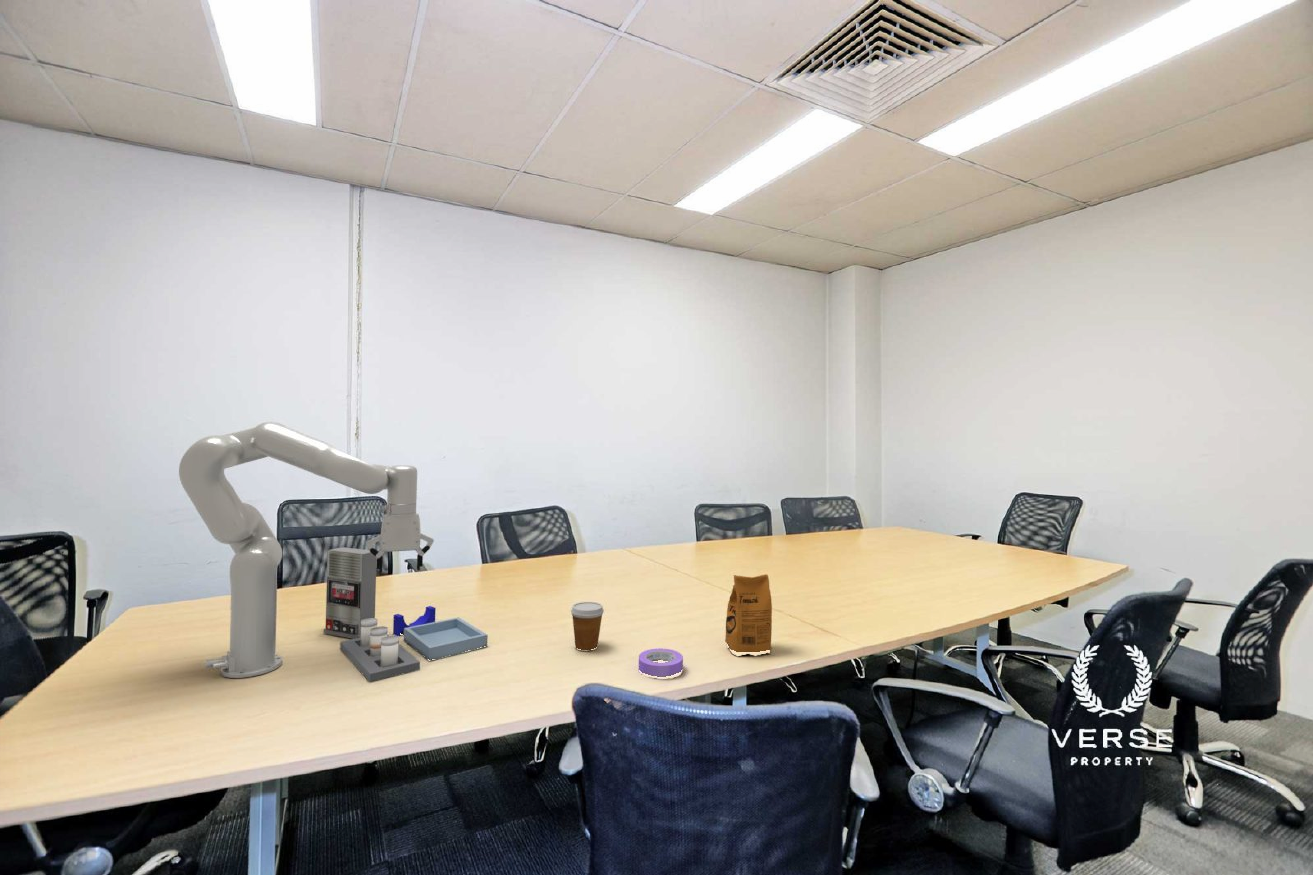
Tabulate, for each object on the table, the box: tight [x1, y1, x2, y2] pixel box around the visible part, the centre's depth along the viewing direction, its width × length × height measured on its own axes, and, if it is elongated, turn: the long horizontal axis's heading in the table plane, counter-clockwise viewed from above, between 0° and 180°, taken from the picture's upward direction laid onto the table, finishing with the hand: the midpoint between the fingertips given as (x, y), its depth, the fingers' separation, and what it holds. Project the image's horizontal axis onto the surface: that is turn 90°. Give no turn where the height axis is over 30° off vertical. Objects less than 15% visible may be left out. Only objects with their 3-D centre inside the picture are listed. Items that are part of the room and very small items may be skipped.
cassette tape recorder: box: [322, 546, 377, 639], centre depth 168 cm, size 14×6×25 cm, turn 71°
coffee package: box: [724, 573, 773, 652], centre depth 163 cm, size 10×12×22 cm
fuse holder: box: [339, 633, 421, 683], centre depth 150 cm, size 12×28×2 cm, turn 43°
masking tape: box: [638, 647, 684, 677], centre depth 147 cm, size 12×12×4 cm
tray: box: [403, 616, 489, 661], centre depth 162 cm, size 16×20×4 cm
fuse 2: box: [380, 635, 400, 668], centre depth 143 cm, size 4×4×8 cm
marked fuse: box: [370, 625, 389, 657], centre depth 150 cm, size 4×4×8 cm
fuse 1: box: [360, 617, 378, 647], centre depth 157 cm, size 4×4×8 cm
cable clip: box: [392, 605, 437, 637], centre depth 173 cm, size 12×4×6 cm, turn 143°
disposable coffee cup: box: [570, 601, 605, 650], centre depth 162 cm, size 10×10×12 cm
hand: (399, 570), depth 157 cm, fingers open, 9 cm apart
